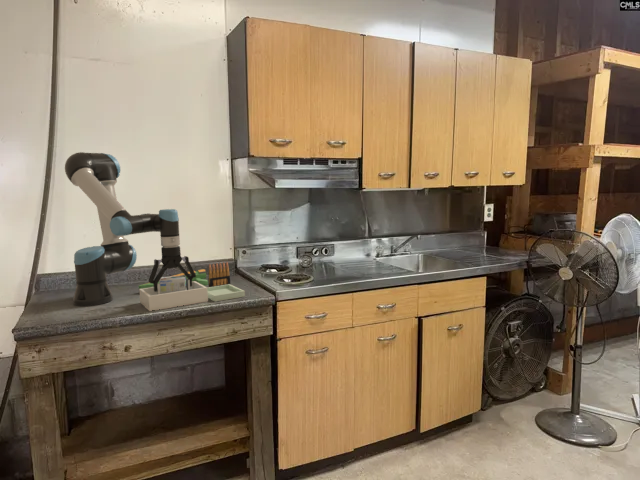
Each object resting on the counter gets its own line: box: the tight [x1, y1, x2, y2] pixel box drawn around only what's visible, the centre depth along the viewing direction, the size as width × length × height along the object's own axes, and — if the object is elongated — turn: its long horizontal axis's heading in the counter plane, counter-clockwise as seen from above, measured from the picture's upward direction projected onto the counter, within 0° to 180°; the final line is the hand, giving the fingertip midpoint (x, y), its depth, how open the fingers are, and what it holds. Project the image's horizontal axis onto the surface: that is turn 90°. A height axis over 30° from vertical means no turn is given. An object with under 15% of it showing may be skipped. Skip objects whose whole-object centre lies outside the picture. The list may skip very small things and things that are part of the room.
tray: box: [206, 284, 246, 302], centre depth 201 cm, size 14×17×2 cm
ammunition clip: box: [207, 261, 232, 287], centre depth 216 cm, size 11×2×12 cm, turn 126°
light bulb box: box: [159, 275, 187, 294], centre depth 190 cm, size 11×7×11 cm, turn 104°
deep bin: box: [138, 281, 209, 312], centre depth 190 cm, size 24×16×6 cm, turn 124°
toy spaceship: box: [137, 269, 209, 290], centre depth 216 cm, size 32×10×7 cm, turn 127°
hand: (173, 296), depth 190 cm, fingers closed on light bulb box, 12 cm apart
